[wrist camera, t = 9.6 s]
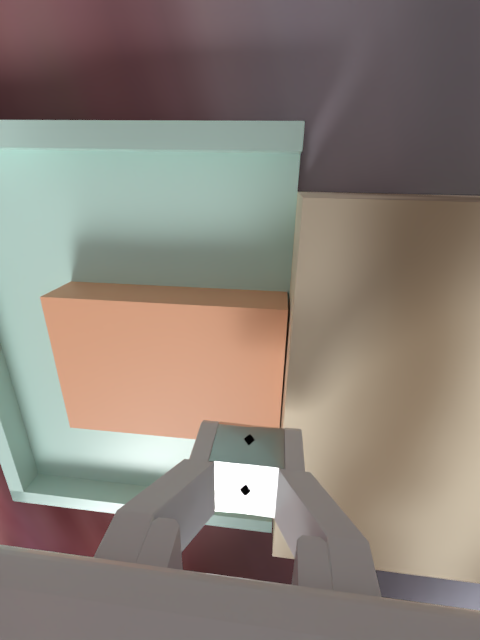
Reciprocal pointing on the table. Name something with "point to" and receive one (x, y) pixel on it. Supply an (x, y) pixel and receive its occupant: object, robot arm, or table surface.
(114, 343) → the salmon pink block
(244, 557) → the table surface
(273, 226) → the tray
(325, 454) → the beige flat block
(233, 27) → the table surface
